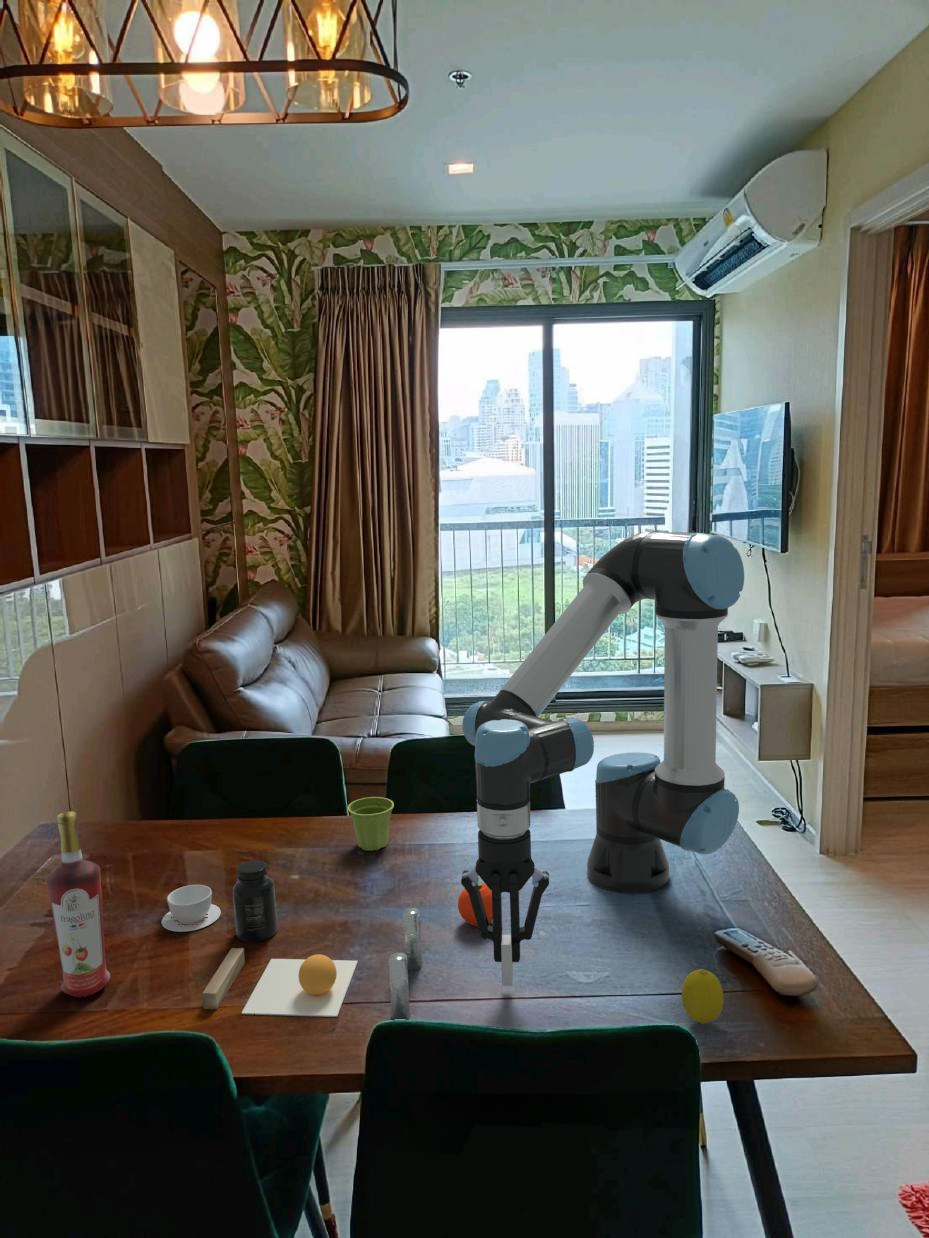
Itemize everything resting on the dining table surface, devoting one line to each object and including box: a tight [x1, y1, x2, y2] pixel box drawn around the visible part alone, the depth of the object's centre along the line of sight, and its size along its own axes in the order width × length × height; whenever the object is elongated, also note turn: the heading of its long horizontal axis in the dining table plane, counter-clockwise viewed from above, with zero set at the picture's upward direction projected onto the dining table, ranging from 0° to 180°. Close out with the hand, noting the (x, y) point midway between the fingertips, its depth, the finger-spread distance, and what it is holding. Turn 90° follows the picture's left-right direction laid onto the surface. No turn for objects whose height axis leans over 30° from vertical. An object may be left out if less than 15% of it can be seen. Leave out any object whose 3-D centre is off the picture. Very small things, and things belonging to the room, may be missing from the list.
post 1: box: [388, 952, 411, 1021], centre depth 123 cm, size 3×3×9 cm
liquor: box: [46, 811, 111, 999], centre depth 130 cm, size 7×7×28 cm
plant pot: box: [347, 796, 395, 852], centre depth 180 cm, size 9×9×9 cm
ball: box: [298, 953, 337, 995], centre depth 129 cm, size 6×6×6 cm
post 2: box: [402, 907, 423, 971], centre depth 135 cm, size 3×3×9 cm
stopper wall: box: [202, 947, 246, 1010], centre depth 132 cm, size 2×12×2 cm, turn 175°
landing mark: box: [241, 958, 359, 1018], centre depth 131 cm, size 14×14×1 cm
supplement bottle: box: [232, 860, 278, 943], centre depth 146 cm, size 7×7×12 cm
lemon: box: [681, 968, 725, 1025], centre depth 119 cm, size 6×6×8 cm
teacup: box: [161, 884, 222, 933], centre depth 152 cm, size 10×10×5 cm
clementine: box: [457, 881, 493, 927], centre depth 148 cm, size 8×7×7 cm
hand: (507, 980), depth 128 cm, fingers closed
